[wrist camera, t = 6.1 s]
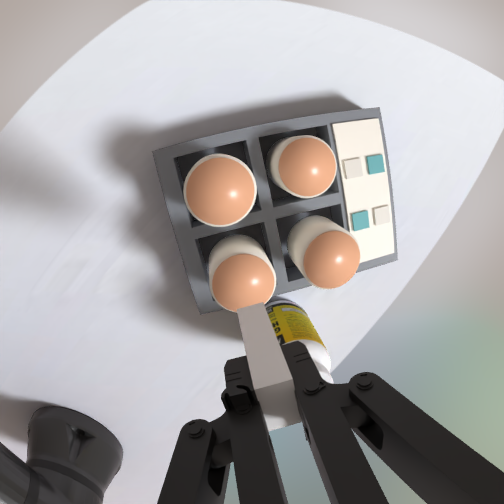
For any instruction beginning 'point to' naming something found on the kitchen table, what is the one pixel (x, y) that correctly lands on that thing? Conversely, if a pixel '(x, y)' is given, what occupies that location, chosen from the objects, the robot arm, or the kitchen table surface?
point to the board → (267, 210)
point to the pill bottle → (299, 332)
